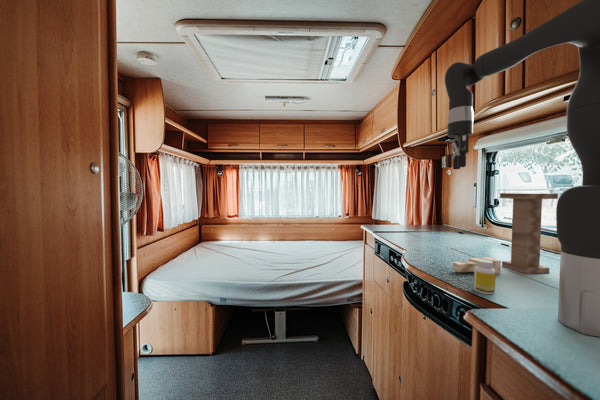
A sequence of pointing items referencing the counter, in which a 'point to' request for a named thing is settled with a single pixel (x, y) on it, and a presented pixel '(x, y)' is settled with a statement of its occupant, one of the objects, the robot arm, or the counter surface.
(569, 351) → the counter surface
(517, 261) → the stand
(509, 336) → the counter surface
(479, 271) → the supplement bottle
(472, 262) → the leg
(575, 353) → the counter surface
